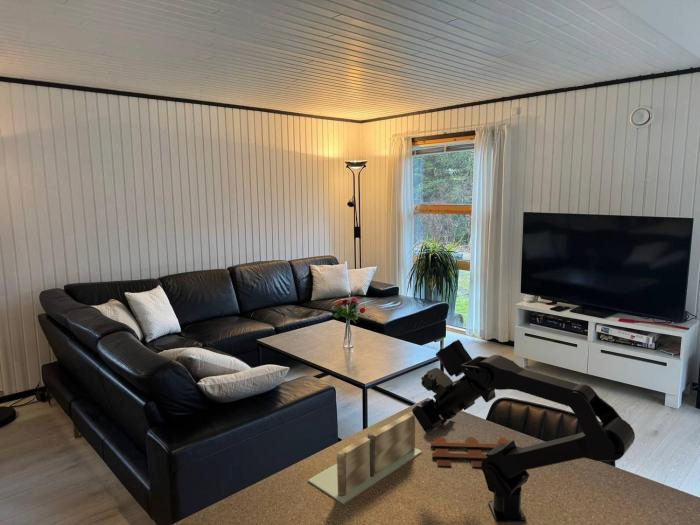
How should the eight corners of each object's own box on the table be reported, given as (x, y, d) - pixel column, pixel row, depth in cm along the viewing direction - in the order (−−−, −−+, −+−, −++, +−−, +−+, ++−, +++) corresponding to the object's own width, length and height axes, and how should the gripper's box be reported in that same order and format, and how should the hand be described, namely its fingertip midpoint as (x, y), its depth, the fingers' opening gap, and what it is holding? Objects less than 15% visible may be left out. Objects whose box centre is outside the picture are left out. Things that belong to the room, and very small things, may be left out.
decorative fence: (526, 473, 122) (512, 441, 137) (526, 466, 122) (512, 435, 137) (433, 469, 125) (429, 439, 139) (433, 463, 124) (429, 433, 139)
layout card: (343, 504, 111) (343, 502, 111) (308, 481, 120) (308, 479, 120) (421, 452, 131) (421, 450, 131) (386, 436, 140) (386, 434, 140)
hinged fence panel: (376, 473, 121) (375, 436, 119) (371, 471, 122) (370, 433, 120) (416, 448, 132) (416, 413, 130) (411, 445, 133) (411, 411, 132)
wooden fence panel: (341, 497, 113) (340, 454, 111) (336, 494, 114) (335, 451, 112) (375, 475, 121) (375, 435, 119) (370, 472, 122) (369, 432, 120)
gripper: (465, 351, 121) (428, 381, 130) (419, 373, 108) (382, 404, 117) (493, 390, 116) (453, 418, 126) (448, 418, 103) (408, 447, 113)
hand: (424, 420), depth 121 cm, fingers closed
